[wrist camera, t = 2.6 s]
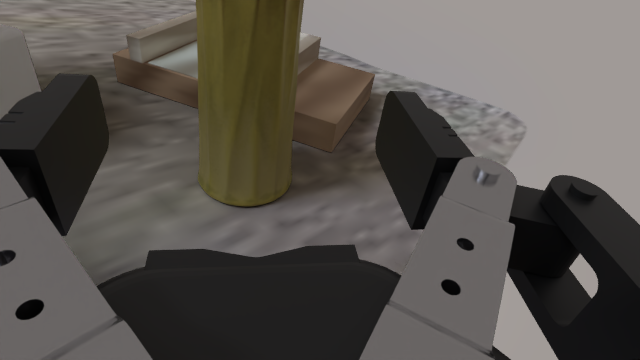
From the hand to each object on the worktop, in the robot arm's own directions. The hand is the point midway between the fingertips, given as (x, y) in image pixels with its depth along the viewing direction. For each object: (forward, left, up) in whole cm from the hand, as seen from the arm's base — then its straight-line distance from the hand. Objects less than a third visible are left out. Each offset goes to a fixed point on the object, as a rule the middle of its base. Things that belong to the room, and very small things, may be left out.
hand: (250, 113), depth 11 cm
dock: (-11, +21, -11) cm, 26 cm away
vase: (-5, +10, -11) cm, 16 cm away
